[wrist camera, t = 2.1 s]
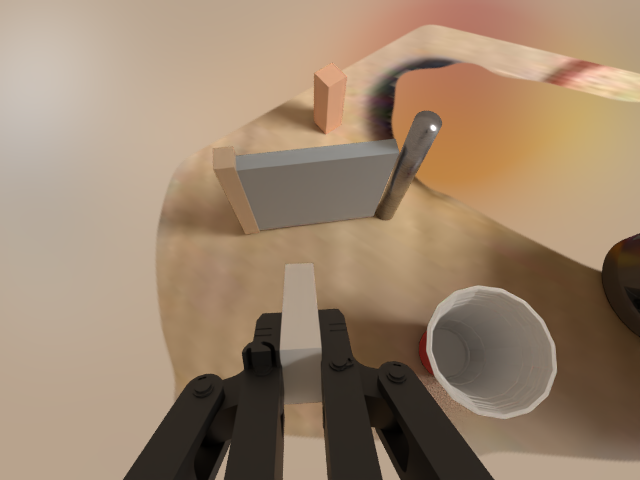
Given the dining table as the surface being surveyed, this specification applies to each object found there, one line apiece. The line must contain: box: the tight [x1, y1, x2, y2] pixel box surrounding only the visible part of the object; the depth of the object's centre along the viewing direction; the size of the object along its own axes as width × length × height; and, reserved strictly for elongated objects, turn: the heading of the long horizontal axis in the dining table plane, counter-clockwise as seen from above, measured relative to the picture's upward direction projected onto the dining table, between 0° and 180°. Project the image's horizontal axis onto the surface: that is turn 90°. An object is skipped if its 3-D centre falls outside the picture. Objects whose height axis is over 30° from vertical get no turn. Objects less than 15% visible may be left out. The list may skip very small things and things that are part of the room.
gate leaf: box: [213, 139, 399, 234], centre depth 37 cm, size 17×2×15 cm, turn 98°
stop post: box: [314, 63, 347, 134], centre depth 46 cm, size 3×3×9 cm
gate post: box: [376, 111, 442, 220], centre depth 37 cm, size 2×2×18 cm
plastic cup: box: [419, 285, 557, 419], centre depth 33 cm, size 11×11×12 cm
